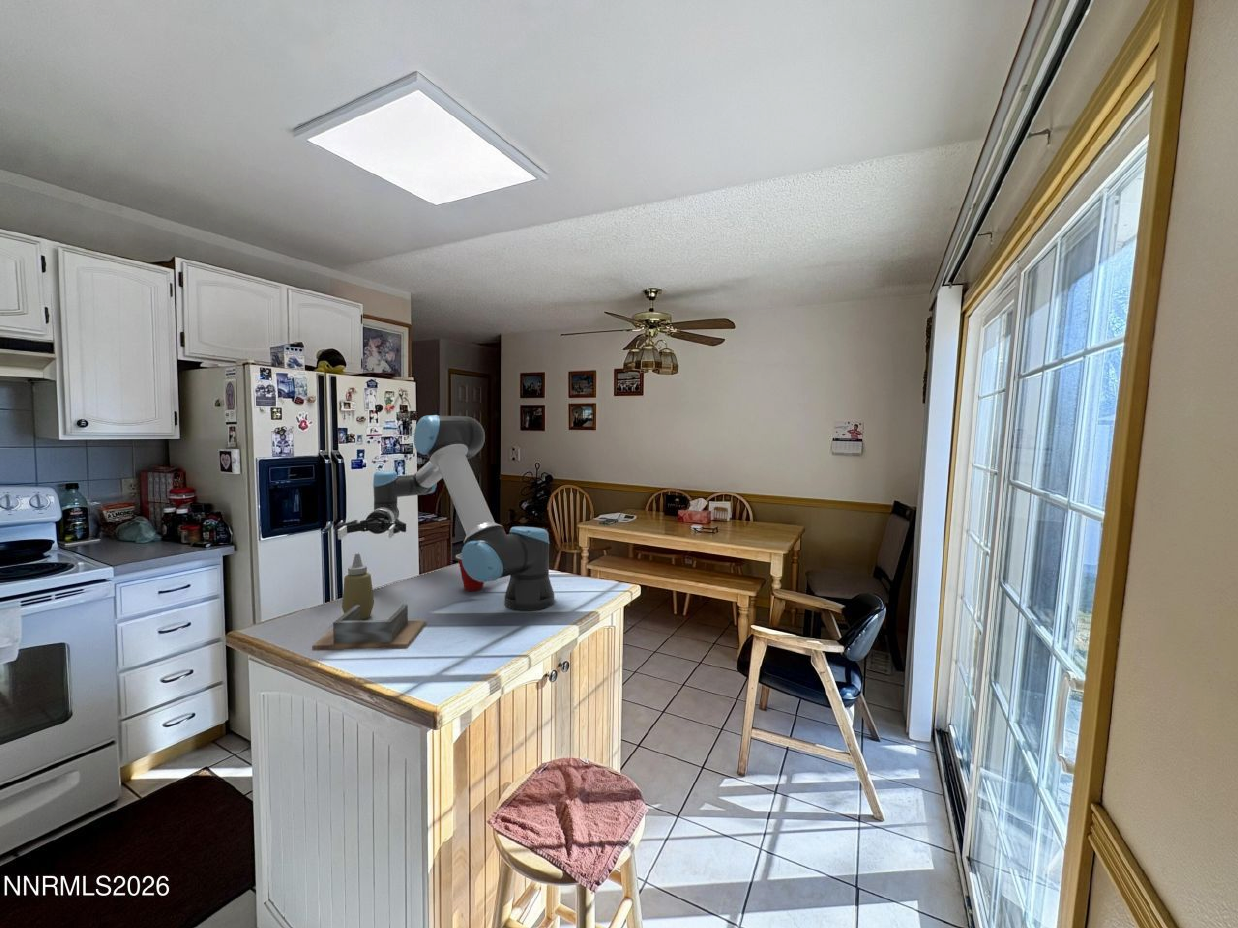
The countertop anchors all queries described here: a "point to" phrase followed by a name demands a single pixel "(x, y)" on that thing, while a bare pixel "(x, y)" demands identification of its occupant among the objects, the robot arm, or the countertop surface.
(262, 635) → the countertop surface
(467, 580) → the plastic cup
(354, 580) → the squeeze bottle
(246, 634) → the countertop surface
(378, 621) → the u rest
